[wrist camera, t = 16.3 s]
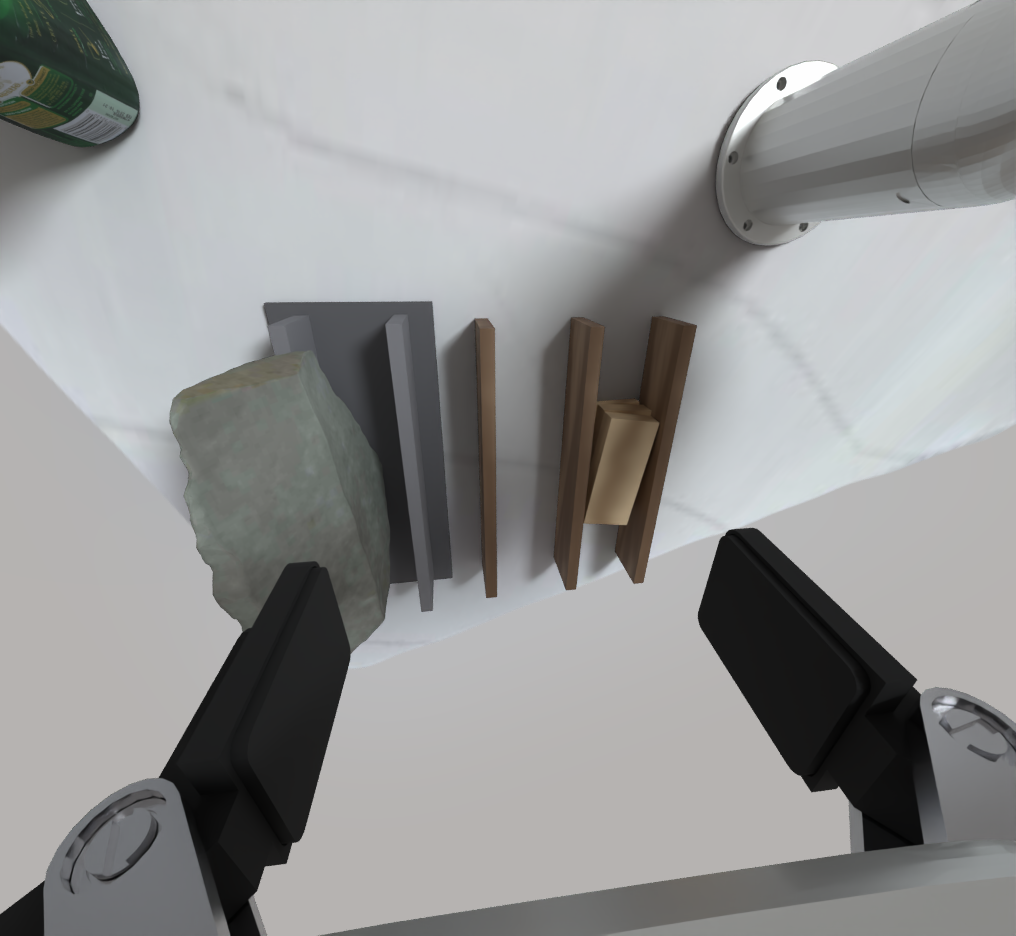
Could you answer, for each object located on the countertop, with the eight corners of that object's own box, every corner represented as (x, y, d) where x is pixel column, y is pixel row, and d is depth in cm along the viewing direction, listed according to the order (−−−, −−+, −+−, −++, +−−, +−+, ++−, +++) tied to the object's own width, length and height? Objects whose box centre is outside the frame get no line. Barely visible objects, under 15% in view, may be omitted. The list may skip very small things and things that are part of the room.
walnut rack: (663, 316, 40) (697, 325, 35) (623, 550, 53) (643, 582, 48) (474, 318, 38) (479, 328, 33) (482, 562, 51) (486, 597, 46)
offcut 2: (650, 415, 41) (659, 422, 40) (619, 515, 47) (626, 525, 45) (604, 411, 40) (611, 418, 39) (578, 513, 46) (583, 523, 44)
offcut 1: (642, 404, 43) (651, 410, 41) (621, 501, 48) (628, 511, 46) (597, 403, 42) (604, 410, 40) (581, 502, 47) (586, 512, 46)
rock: (428, 567, 48) (329, 746, 31) (380, 562, 49) (258, 731, 32) (381, 332, 36) (171, 409, 18) (319, 334, 37) (68, 408, 20)
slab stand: (432, 301, 37) (429, 309, 31) (452, 574, 51) (453, 615, 46) (266, 302, 35) (230, 311, 29) (336, 585, 50) (322, 628, 44)
